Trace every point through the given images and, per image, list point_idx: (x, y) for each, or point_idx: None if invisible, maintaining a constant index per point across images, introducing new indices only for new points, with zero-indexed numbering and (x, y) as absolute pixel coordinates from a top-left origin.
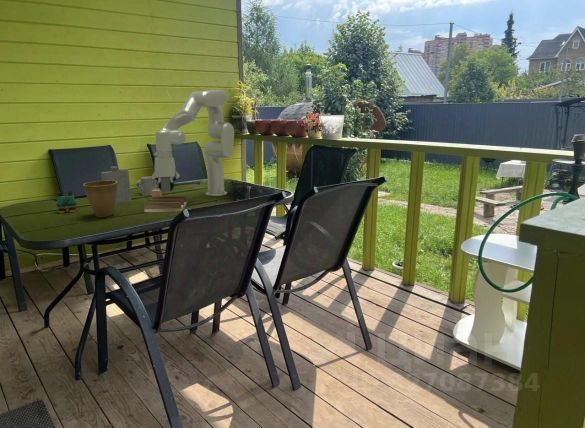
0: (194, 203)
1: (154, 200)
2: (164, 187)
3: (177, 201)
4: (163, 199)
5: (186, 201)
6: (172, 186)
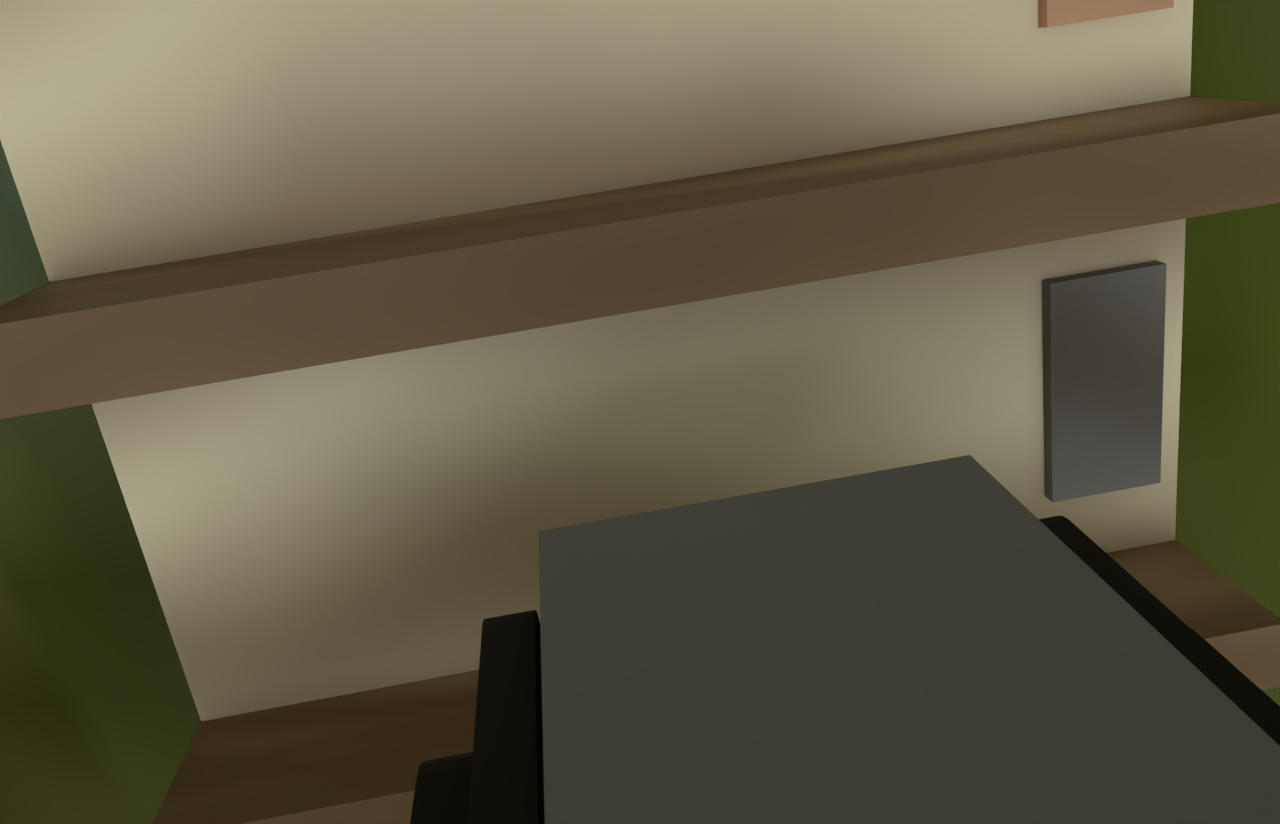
0: (71, 815)
1: (1080, 138)
2: (878, 585)
3: (225, 272)
4: (766, 243)
5: (202, 728)
6: (447, 815)
